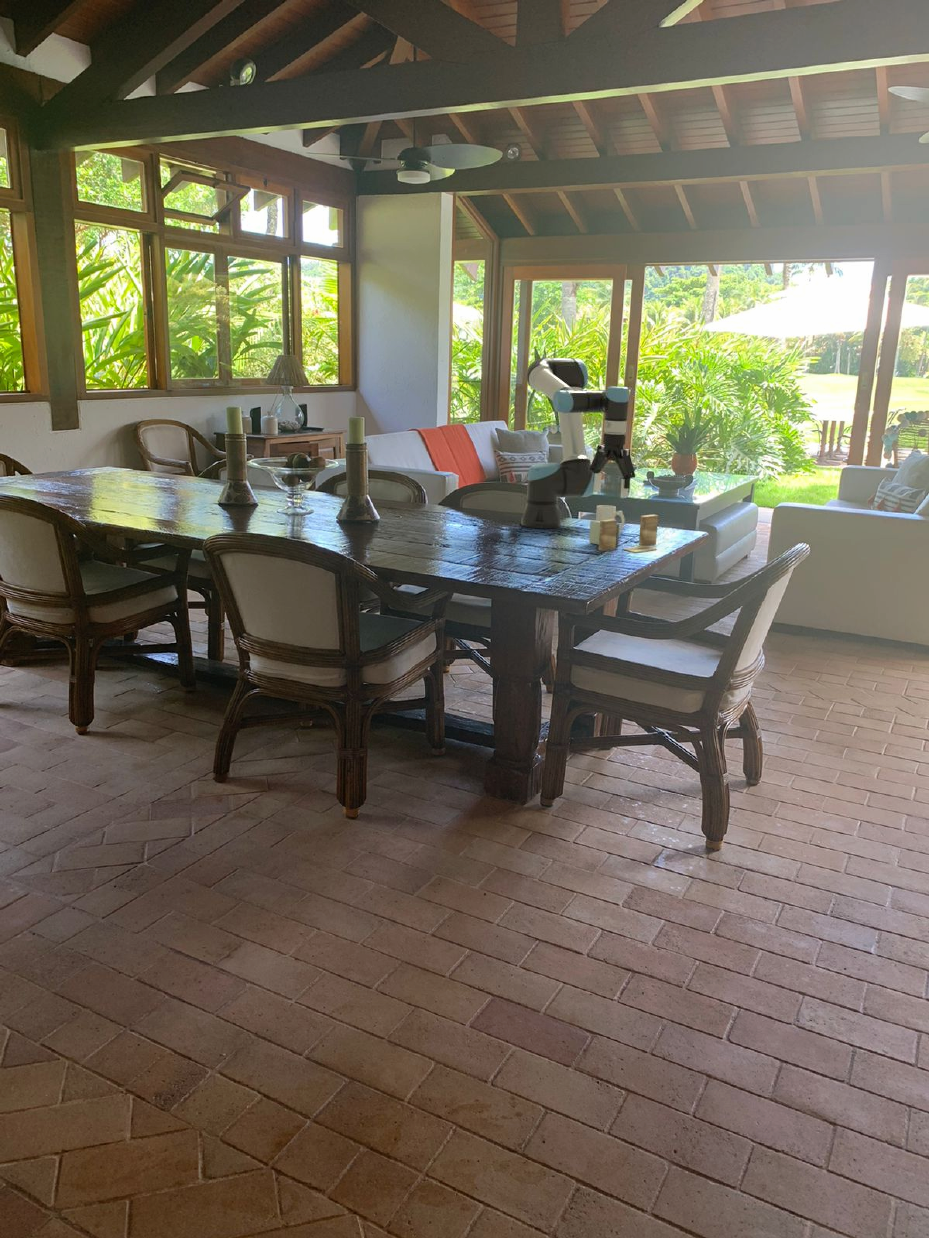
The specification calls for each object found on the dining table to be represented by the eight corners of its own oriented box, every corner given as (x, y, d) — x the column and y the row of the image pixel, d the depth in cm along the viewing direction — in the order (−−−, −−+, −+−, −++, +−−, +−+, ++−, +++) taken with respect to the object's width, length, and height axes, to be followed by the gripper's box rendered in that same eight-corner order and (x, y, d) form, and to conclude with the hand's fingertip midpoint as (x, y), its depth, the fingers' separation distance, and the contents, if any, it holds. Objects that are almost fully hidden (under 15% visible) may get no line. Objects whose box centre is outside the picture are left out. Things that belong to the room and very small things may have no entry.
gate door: (618, 547, 316) (620, 524, 314) (616, 548, 315) (618, 524, 313) (591, 542, 325) (592, 519, 322) (589, 542, 324) (590, 519, 321)
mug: (593, 541, 327) (595, 507, 324) (596, 538, 333) (598, 504, 330) (621, 543, 324) (624, 509, 321) (624, 540, 331) (626, 506, 327)
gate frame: (598, 550, 313) (600, 520, 310) (651, 542, 327) (653, 514, 324) (618, 555, 306) (620, 525, 303) (671, 547, 320) (674, 518, 317)
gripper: (582, 429, 326) (578, 490, 333) (632, 437, 307) (627, 501, 313) (597, 429, 330) (593, 488, 337) (649, 436, 311) (643, 499, 317)
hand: (610, 494), depth 325 cm, fingers open, 13 cm apart
